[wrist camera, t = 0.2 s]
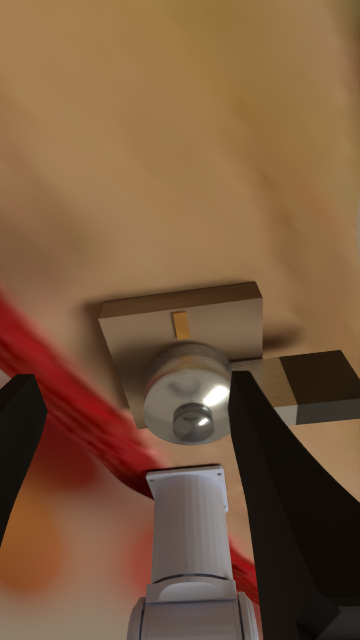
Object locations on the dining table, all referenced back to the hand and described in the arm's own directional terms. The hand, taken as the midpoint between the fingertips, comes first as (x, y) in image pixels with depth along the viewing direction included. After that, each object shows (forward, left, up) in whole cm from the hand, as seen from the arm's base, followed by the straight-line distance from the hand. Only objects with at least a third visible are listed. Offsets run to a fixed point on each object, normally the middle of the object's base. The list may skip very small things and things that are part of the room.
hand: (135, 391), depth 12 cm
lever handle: (-7, -5, -8) cm, 12 cm away
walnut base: (-7, -2, -10) cm, 12 cm away
